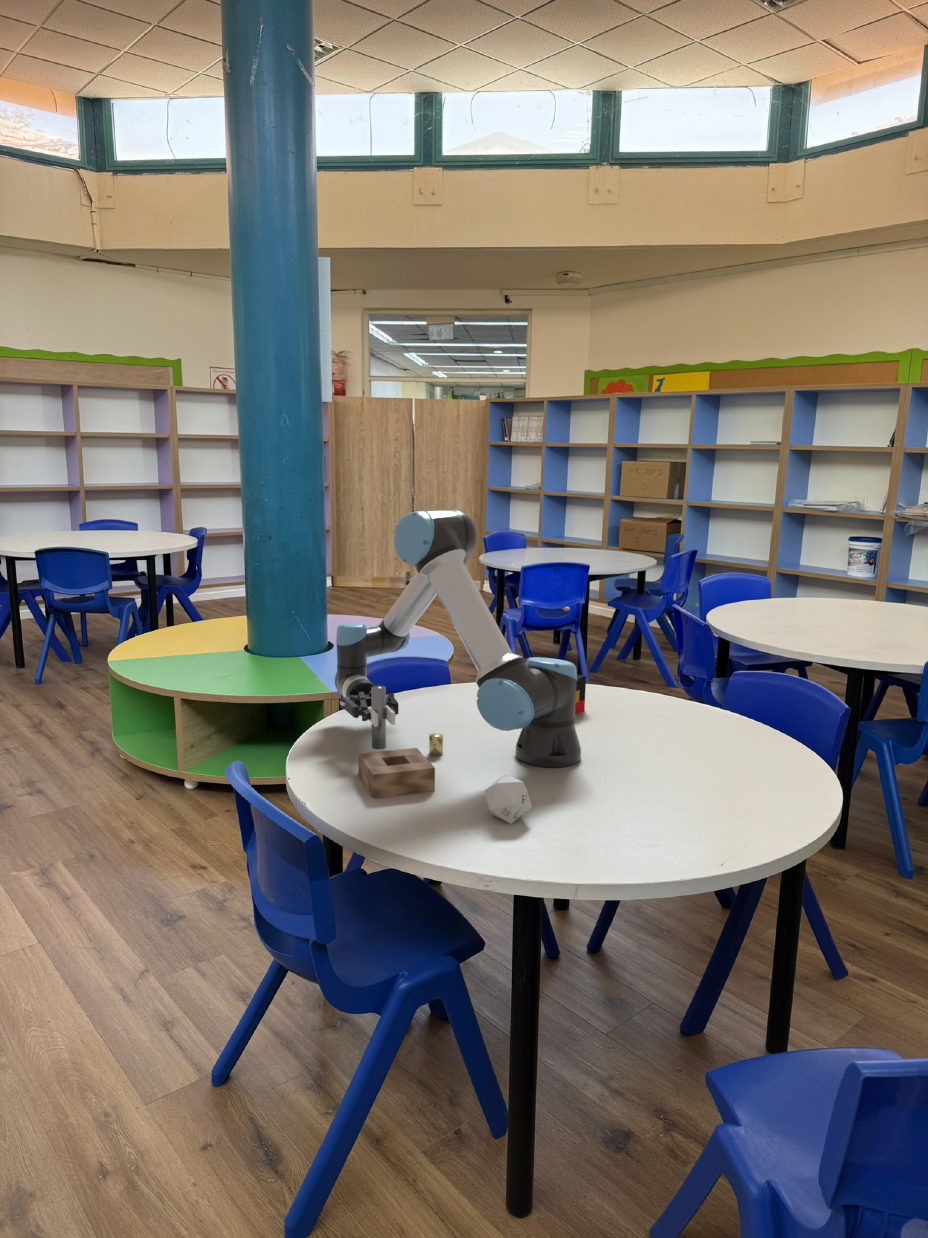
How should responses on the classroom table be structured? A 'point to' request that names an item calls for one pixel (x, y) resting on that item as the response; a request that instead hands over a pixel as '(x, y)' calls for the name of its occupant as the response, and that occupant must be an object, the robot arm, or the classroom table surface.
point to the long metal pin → (379, 717)
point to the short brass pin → (435, 744)
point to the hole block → (396, 772)
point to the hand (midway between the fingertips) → (384, 719)
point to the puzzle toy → (580, 694)
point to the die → (508, 798)
